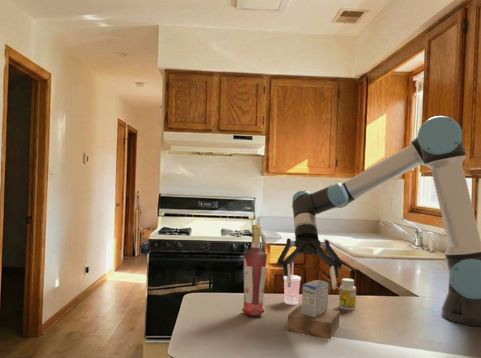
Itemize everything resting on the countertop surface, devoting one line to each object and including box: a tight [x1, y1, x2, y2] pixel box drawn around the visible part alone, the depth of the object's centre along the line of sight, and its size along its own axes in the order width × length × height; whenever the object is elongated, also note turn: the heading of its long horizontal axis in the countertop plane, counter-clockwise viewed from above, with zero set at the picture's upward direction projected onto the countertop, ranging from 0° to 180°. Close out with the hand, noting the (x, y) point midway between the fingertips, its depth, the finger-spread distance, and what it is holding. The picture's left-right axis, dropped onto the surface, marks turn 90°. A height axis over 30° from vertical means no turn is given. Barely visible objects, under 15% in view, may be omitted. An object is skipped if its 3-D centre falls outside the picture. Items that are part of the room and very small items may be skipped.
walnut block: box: [286, 304, 341, 341], centre depth 117 cm, size 12×12×5 cm
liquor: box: [241, 224, 268, 318], centre depth 127 cm, size 7×7×28 cm
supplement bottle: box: [338, 277, 357, 311], centre depth 139 cm, size 5×5×10 cm
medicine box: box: [301, 279, 330, 317], centre depth 117 cm, size 8×4×9 cm, turn 142°
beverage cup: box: [283, 261, 302, 306], centre depth 142 cm, size 6×6×14 cm
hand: (312, 286), depth 122 cm, fingers open, 13 cm apart
